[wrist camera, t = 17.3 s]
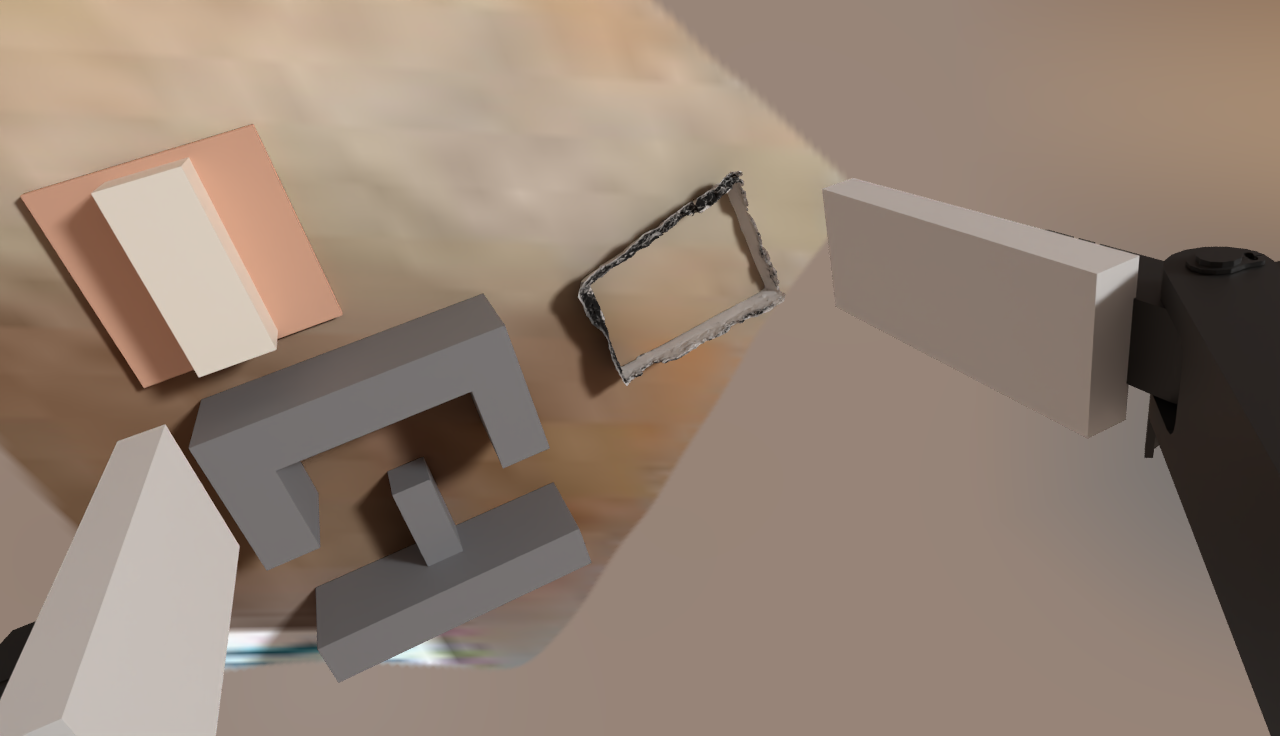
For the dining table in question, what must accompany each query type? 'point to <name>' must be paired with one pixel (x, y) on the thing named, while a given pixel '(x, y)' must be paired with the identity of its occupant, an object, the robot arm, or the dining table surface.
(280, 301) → the terracotta mat
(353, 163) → the dining table surface
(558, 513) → the pocket plate
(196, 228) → the cream bar
